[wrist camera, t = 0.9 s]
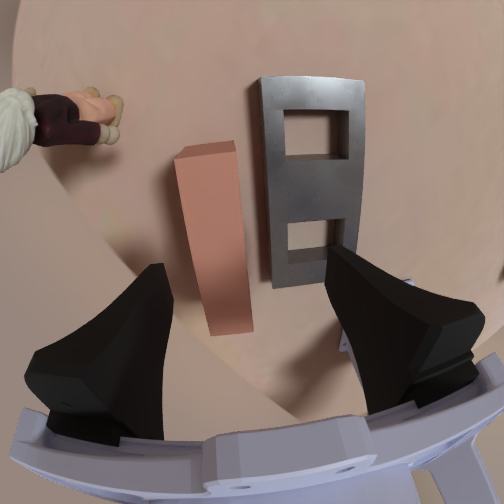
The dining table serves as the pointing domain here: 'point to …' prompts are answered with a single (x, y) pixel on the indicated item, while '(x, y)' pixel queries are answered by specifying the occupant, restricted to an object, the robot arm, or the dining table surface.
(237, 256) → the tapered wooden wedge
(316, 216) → the slotted metal plate
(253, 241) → the dining table surface
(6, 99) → the grandmother figurine
